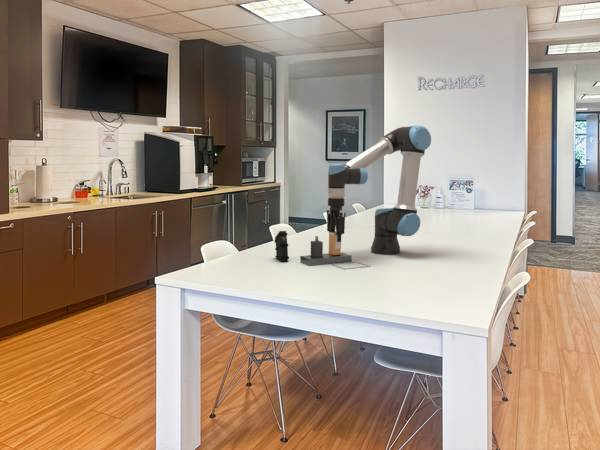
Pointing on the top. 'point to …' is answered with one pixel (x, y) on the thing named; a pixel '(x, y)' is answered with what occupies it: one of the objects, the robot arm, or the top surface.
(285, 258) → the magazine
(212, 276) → the top surface
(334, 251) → the plug
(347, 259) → the slotted metal block
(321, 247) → the twin plug
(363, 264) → the tray
